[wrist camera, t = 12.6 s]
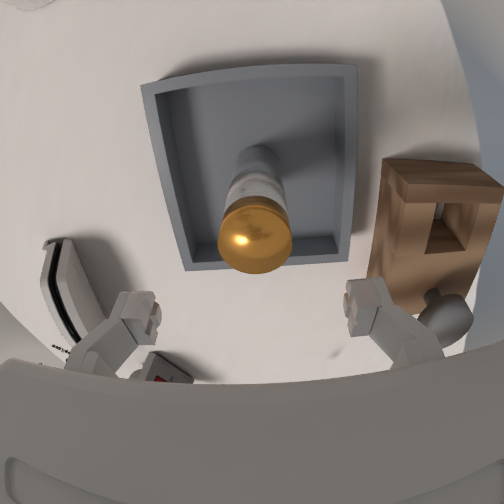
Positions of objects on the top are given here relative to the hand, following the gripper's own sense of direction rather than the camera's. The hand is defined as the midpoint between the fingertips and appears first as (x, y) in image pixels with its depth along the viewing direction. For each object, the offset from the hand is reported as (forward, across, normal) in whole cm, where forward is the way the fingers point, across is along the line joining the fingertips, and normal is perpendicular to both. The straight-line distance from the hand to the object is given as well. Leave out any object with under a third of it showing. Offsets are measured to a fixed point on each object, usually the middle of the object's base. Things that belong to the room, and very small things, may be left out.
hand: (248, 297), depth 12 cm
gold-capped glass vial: (+16, 0, +1) cm, 16 cm away
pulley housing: (+17, -18, +9) cm, 27 cm away
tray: (+17, 0, +1) cm, 17 cm away
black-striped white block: (+18, +25, +16) cm, 34 cm away
